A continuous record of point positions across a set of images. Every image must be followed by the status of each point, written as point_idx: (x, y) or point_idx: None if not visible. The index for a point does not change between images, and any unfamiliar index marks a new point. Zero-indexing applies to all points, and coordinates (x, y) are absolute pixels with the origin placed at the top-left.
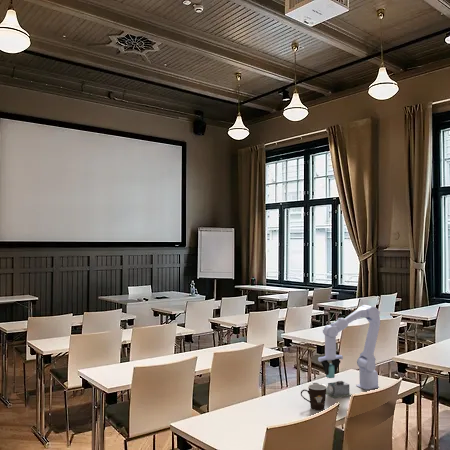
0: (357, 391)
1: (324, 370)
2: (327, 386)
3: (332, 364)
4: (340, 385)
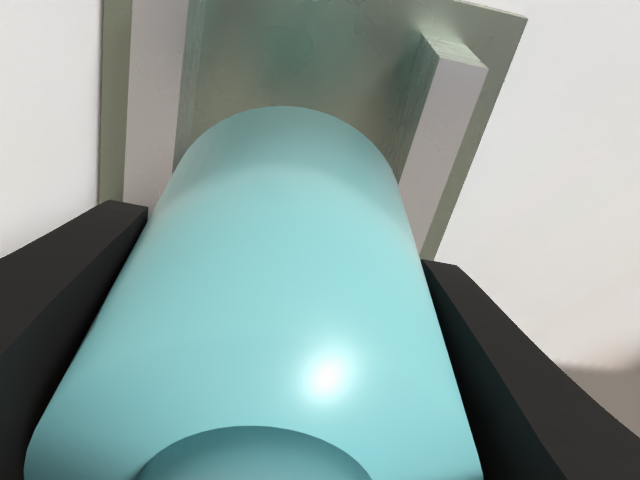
0: (563, 348)
1: (30, 254)
2: (154, 186)
3: (543, 460)
4: None
